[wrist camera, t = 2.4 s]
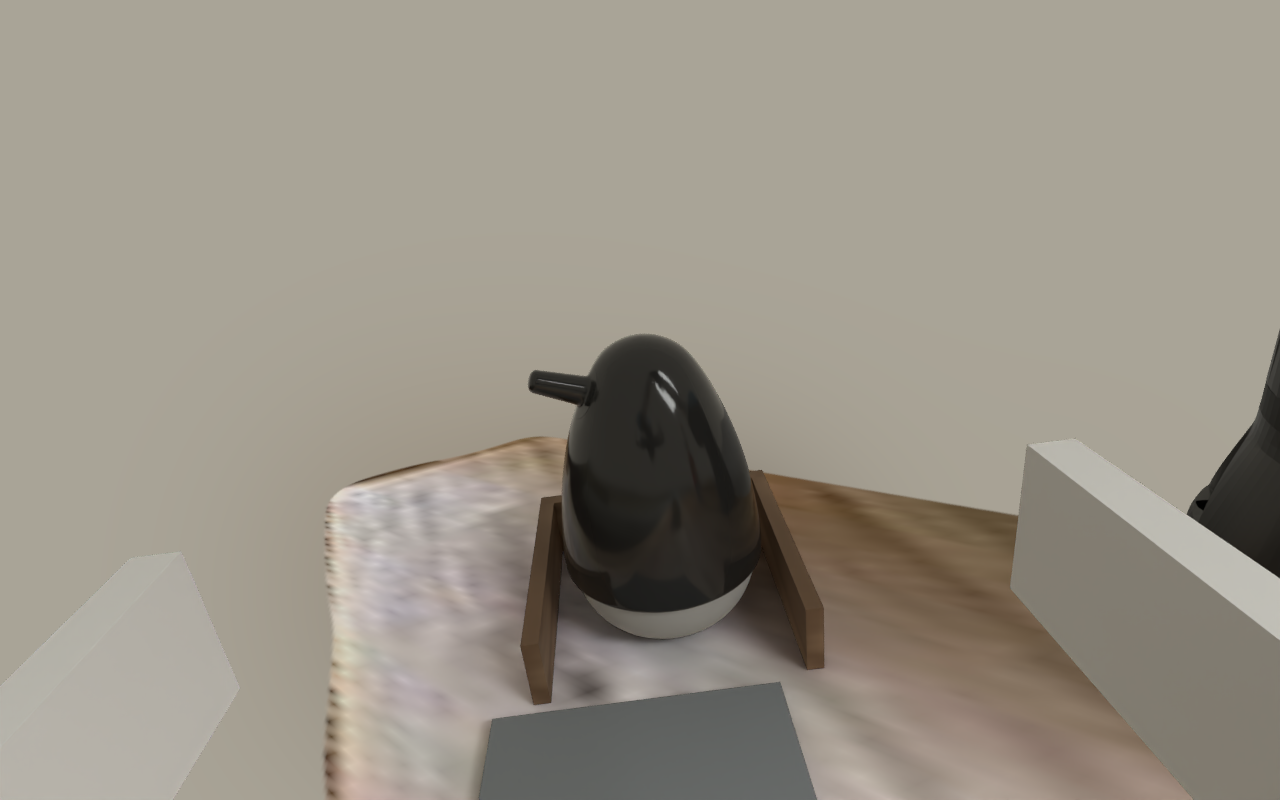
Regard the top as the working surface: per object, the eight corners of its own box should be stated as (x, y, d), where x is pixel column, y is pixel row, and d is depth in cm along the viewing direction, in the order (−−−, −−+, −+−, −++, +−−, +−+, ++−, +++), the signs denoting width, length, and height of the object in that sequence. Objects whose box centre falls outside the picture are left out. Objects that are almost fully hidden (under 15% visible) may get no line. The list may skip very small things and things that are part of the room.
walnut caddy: (764, 518, 45) (761, 470, 43) (824, 667, 33) (823, 607, 32) (550, 545, 45) (541, 497, 43) (533, 704, 33) (520, 646, 31)
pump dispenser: (563, 568, 42) (517, 325, 36) (729, 532, 44) (712, 293, 38) (585, 695, 33) (528, 397, 27) (795, 644, 34) (785, 352, 28)
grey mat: (780, 690, 32) (780, 682, 32) (844, 896, 24) (844, 886, 23) (494, 727, 32) (492, 719, 32) (458, 946, 24) (455, 937, 23)
